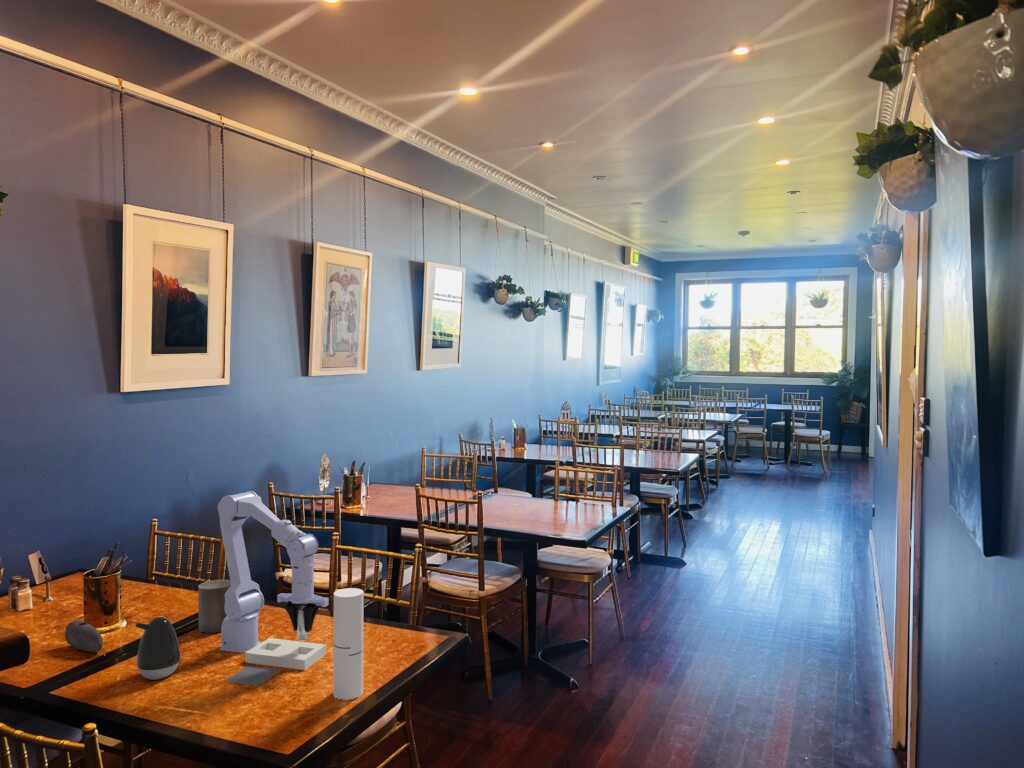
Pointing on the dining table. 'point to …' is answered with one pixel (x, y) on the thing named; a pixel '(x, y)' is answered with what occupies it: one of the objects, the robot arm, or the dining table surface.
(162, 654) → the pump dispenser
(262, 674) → the mat
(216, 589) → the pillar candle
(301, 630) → the peg
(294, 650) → the hole block
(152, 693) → the dining table surface
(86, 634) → the grey river pebble
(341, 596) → the cylindrical container
